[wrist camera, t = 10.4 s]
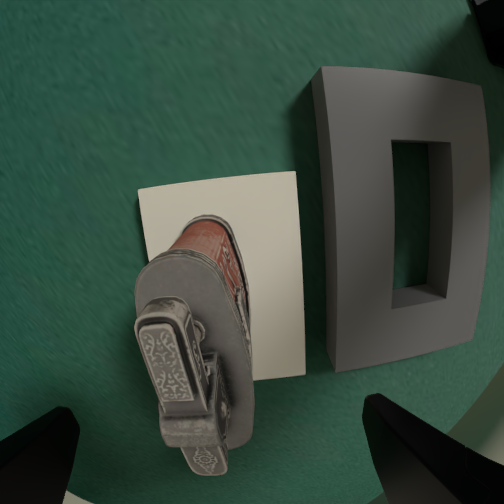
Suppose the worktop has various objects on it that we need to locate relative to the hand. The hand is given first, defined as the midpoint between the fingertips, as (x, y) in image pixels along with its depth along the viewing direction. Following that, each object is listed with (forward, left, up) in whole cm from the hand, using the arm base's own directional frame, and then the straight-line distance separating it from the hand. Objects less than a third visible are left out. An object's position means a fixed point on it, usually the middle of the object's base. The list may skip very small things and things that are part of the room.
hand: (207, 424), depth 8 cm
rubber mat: (0, 0, -10) cm, 10 cm away
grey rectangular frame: (-11, -3, -10) cm, 15 cm away
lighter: (0, 0, -10) cm, 10 cm away
